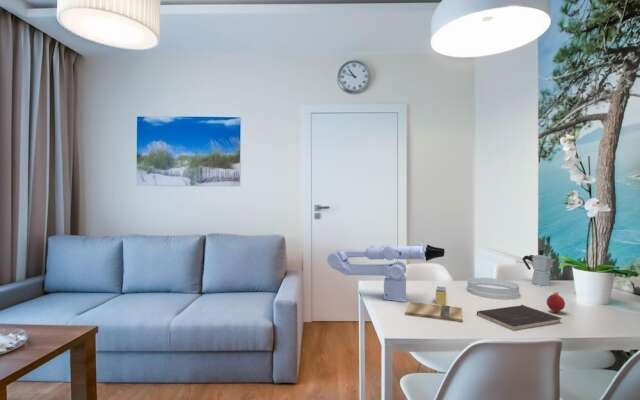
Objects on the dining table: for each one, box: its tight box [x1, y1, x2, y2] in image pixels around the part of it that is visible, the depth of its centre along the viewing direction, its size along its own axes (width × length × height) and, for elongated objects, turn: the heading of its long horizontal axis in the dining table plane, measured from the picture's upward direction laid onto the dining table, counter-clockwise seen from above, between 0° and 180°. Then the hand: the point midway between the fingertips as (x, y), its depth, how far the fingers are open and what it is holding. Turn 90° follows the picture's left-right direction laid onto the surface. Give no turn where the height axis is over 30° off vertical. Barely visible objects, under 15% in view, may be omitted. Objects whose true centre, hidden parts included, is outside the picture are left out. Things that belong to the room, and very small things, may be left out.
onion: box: [546, 291, 566, 313], centre depth 132 cm, size 6×6×8 cm
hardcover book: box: [476, 304, 562, 331], centre depth 125 cm, size 16×23×2 cm
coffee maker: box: [522, 249, 556, 287], centre depth 177 cm, size 15×9×18 cm, turn 46°
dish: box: [466, 277, 520, 301], centre depth 160 cm, size 22×22×5 cm
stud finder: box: [435, 285, 447, 306], centre depth 144 cm, size 4×7×6 cm, turn 158°
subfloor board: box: [404, 301, 464, 323], centre depth 131 cm, size 20×14×1 cm
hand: (444, 252), depth 142 cm, fingers open, 7 cm apart
